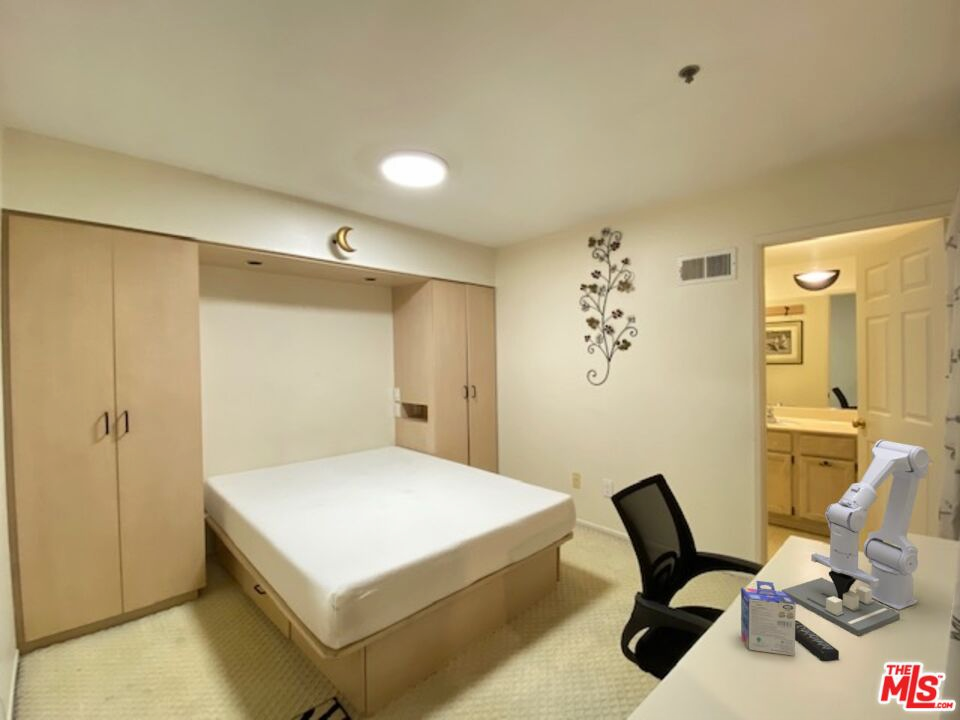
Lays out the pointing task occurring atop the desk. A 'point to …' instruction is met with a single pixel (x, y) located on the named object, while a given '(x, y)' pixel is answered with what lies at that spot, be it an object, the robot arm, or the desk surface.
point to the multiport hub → (815, 643)
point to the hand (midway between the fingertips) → (842, 599)
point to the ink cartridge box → (768, 620)
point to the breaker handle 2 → (864, 595)
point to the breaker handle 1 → (834, 605)
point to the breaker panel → (852, 621)
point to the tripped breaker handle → (851, 601)
